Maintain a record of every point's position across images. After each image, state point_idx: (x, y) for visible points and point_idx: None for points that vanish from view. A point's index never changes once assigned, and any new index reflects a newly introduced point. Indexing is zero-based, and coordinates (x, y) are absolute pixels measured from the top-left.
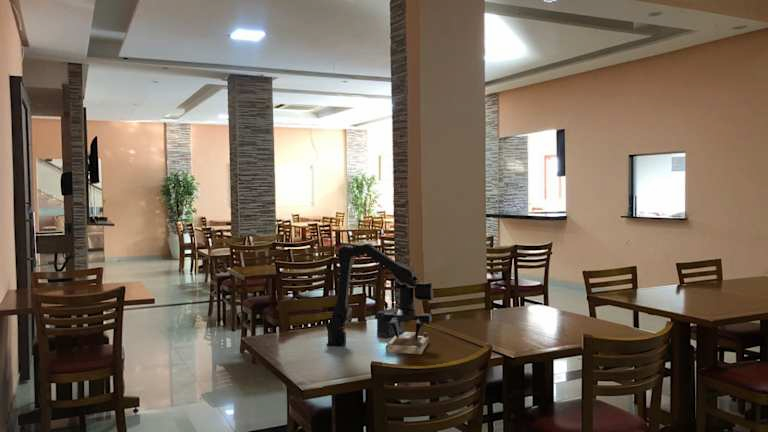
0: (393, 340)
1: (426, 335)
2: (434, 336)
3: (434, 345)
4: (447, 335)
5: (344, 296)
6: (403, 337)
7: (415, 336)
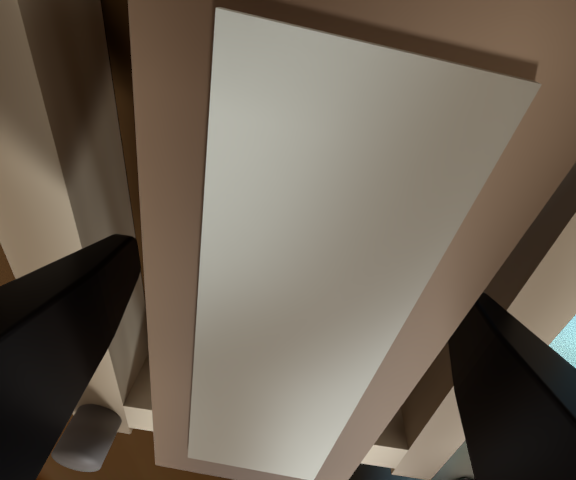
0: (533, 302)
1: (73, 421)
2: (123, 470)
3: (5, 276)
4: (51, 475)
5: None
6: (405, 62)
7: (89, 272)
